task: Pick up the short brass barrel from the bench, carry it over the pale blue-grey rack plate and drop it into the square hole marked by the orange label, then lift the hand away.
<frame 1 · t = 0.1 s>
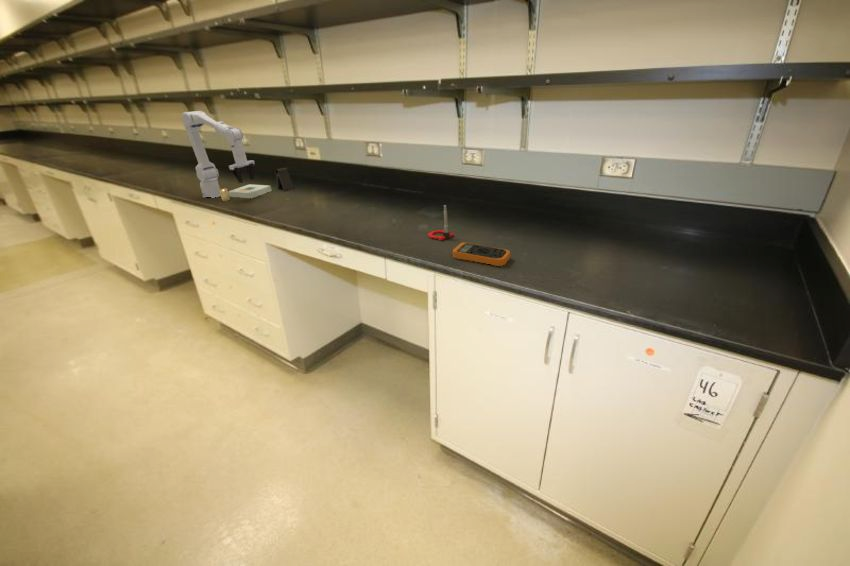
hand: (246, 180, 194), 10 cm above the worktop, tool pointing down, fingers open, 7 cm apart
phone stand: (286, 189, 216), on the worktop
brass barrel: (226, 200, 200), on the worktop
multimeter: (481, 259, 123), on the worktop
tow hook: (439, 236, 142), on the worktop
rack plate: (251, 193, 210), on the worktop
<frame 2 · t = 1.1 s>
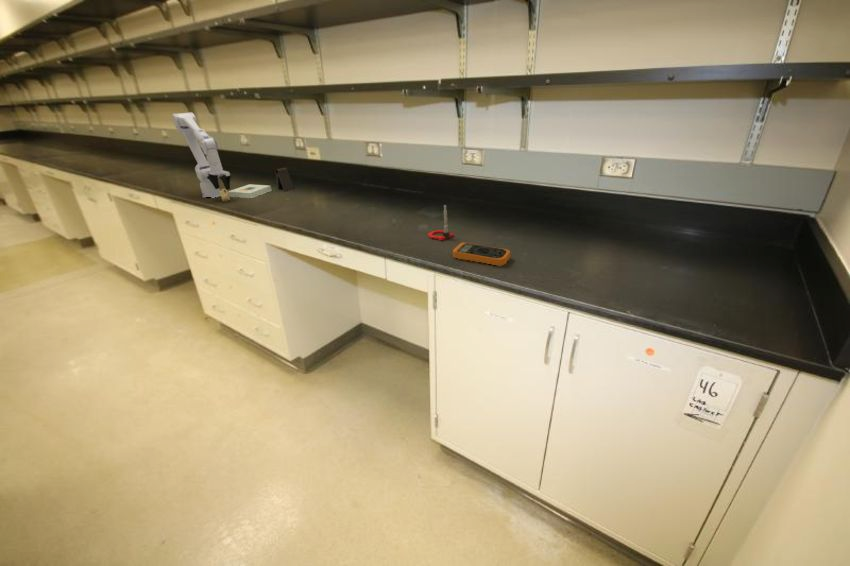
hand: (222, 189, 197), 6 cm above the worktop, tool pointing down, fingers open, 7 cm apart
nothing on the worktop moved.
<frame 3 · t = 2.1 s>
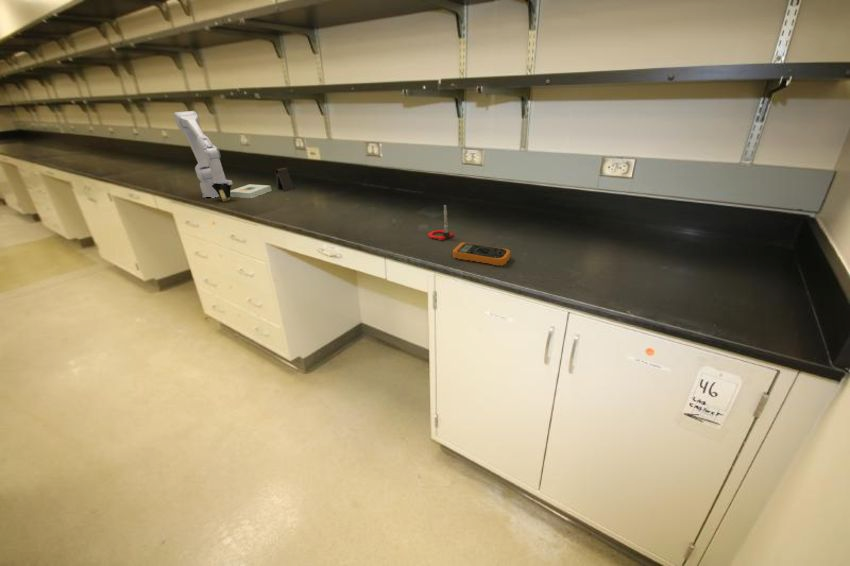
hand: (225, 197, 199), 2 cm above the worktop, tool pointing down, fingers closed on brass barrel, 4 cm apart
brass barrel: (226, 200, 200), on the worktop, touching gripper
everything else where it was.
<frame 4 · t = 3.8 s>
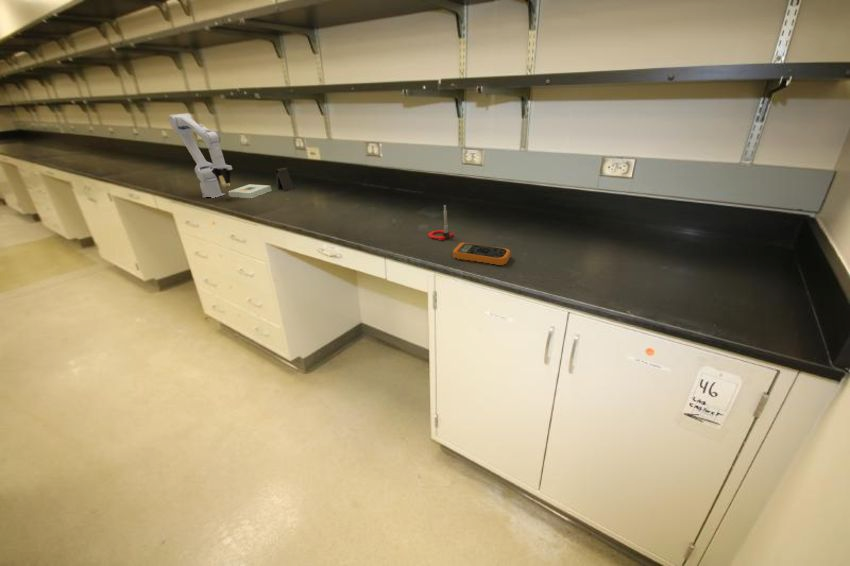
hand: (225, 182, 197), 9 cm above the worktop, tool pointing down, fingers closed on brass barrel, 4 cm apart
brass barrel: (226, 186, 198), point 7 cm above the worktop, touching gripper
everything else where it was.
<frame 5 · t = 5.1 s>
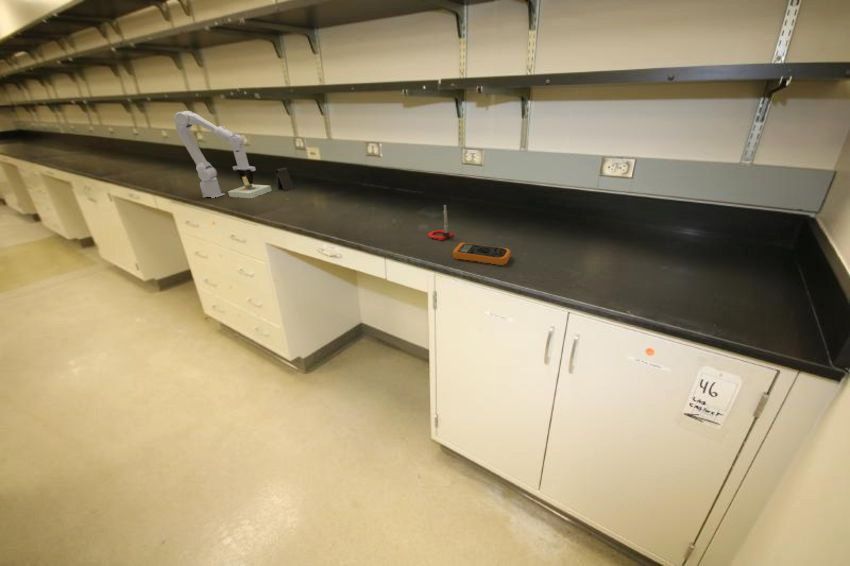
hand: (248, 183, 207), 6 cm above the worktop, tool pointing down, fingers closed on brass barrel, 4 cm apart
brass barrel: (248, 186, 208), point 4 cm above the worktop, touching gripper
everything else where it was.
when the fingers open (4 cm above the worktop, at t = 5.8 s): brass barrel drops 2 cm, resting in rack plate.
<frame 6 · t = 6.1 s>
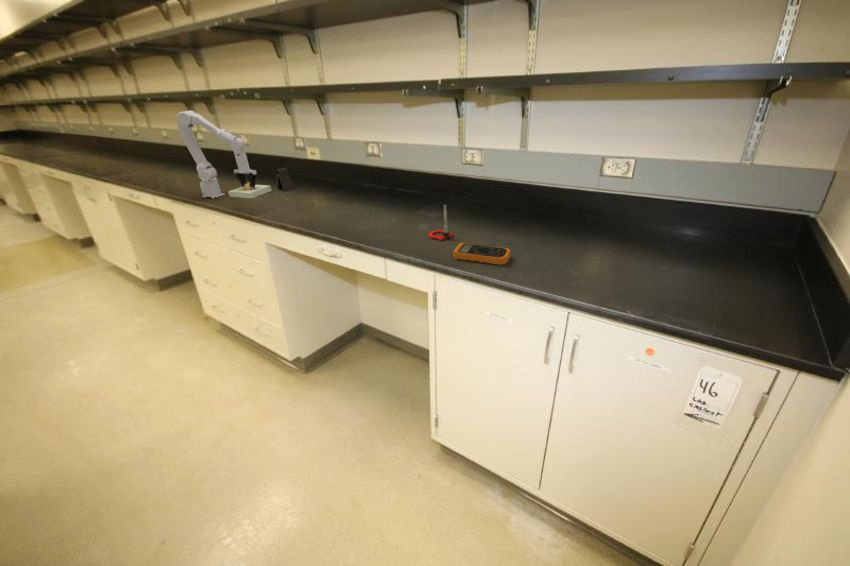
hand: (249, 186, 208), 4 cm above the worktop, tool pointing down, fingers open, 6 cm apart
brass barrel: (250, 193, 210), resting in rack plate
everything else where it was.
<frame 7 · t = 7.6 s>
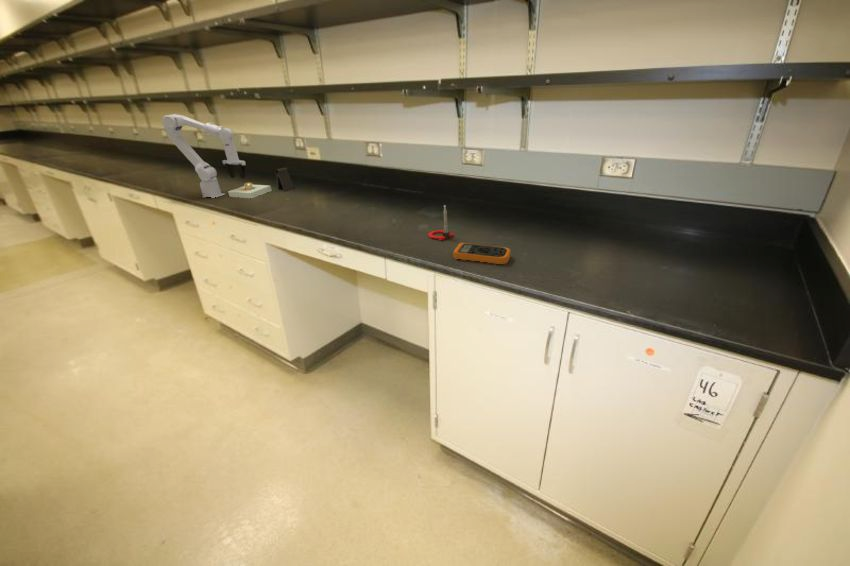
hand: (238, 177, 206), 9 cm above the worktop, tool pointing down, fingers open, 7 cm apart
nothing on the worktop moved.
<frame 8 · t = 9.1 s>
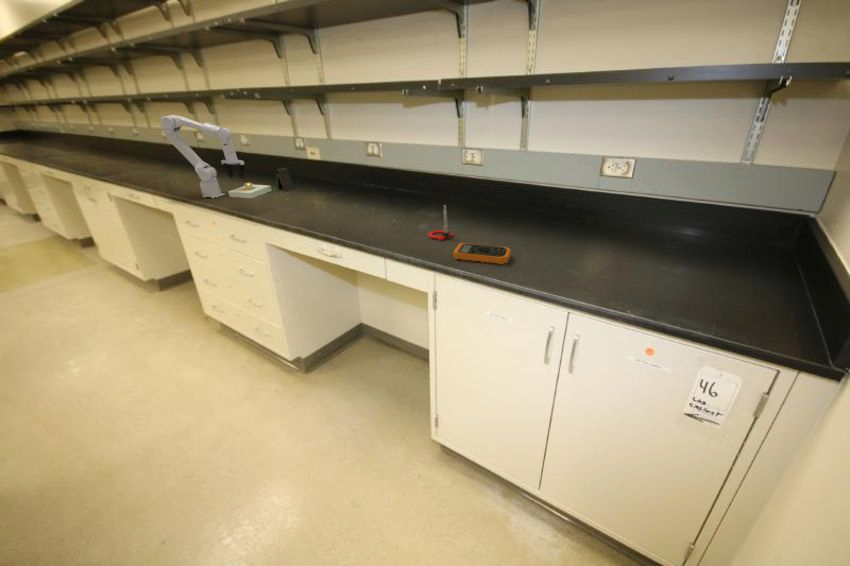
hand: (236, 177, 205), 9 cm above the worktop, tool pointing down, fingers open, 7 cm apart
nothing on the worktop moved.
at the end: brass barrel 0.3 cm off-centre on the rack plate, point 0.0 cm above the rack plate's base; brass barrel tilted 0°; the gripper is holding nothing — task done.
